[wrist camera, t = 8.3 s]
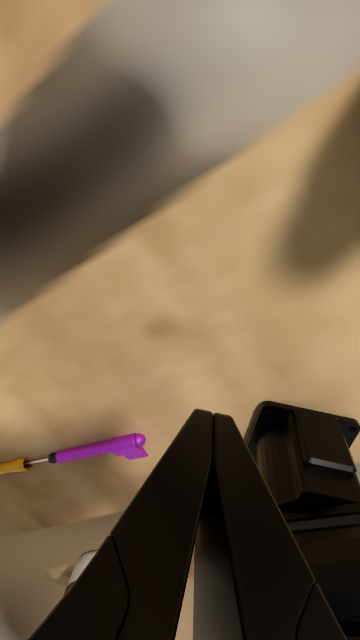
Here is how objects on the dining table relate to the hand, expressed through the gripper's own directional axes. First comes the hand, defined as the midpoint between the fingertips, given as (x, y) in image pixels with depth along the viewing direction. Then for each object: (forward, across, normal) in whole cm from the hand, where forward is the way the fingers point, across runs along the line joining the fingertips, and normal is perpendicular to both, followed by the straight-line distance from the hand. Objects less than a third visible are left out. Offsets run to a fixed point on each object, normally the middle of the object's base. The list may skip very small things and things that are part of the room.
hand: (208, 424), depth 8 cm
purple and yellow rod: (+13, +9, +20) cm, 25 cm away
